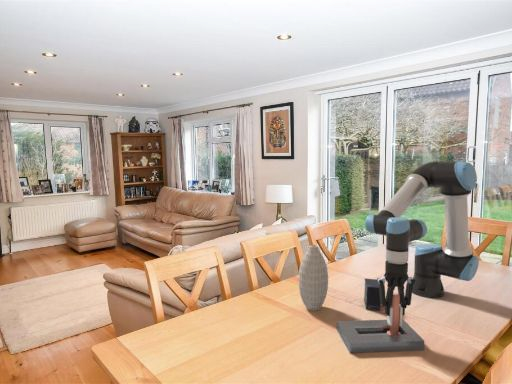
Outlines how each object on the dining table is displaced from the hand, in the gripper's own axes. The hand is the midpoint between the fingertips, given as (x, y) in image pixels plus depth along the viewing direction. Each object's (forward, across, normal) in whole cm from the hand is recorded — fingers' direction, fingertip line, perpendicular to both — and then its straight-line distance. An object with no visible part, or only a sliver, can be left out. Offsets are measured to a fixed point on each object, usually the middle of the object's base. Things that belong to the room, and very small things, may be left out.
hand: (394, 323), depth 129 cm
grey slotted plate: (+6, +6, 0) cm, 9 cm away
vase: (+6, +24, -28) cm, 37 cm away
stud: (+5, 0, 0) cm, 5 cm away
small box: (+6, -3, -29) cm, 30 cm away
